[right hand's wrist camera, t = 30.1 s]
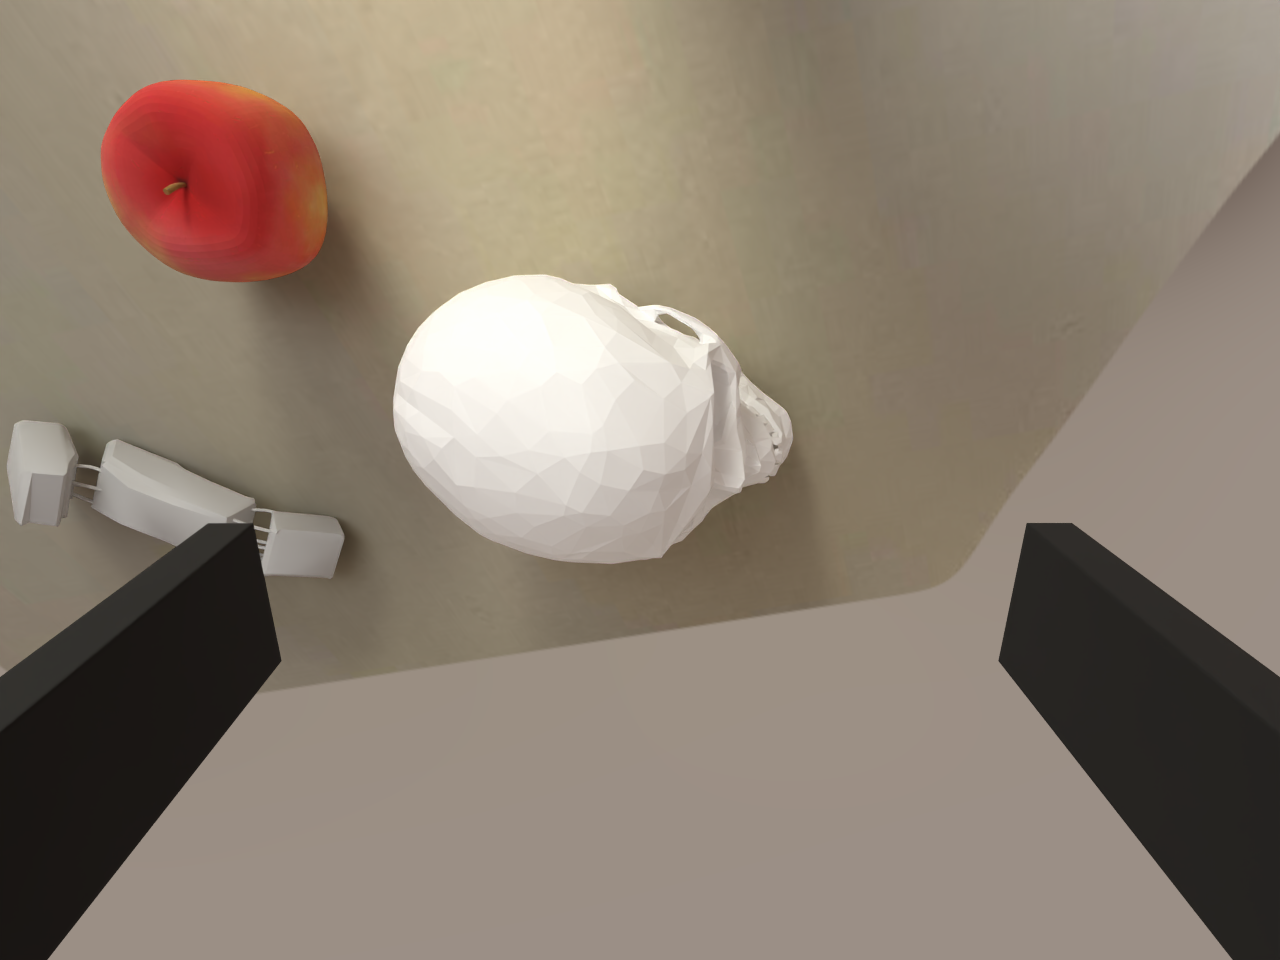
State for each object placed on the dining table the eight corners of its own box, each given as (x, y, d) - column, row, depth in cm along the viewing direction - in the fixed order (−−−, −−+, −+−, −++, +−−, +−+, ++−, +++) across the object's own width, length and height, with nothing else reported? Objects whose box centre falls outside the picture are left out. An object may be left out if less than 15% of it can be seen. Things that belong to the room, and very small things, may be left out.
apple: (222, 55, 39) (89, 8, 29) (388, 154, 40) (313, 140, 31) (166, 222, 42) (29, 227, 32) (324, 307, 43) (237, 336, 34)
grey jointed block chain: (26, 460, 46) (-59, 507, 40) (33, 408, 45) (-54, 447, 39) (345, 556, 51) (314, 611, 45) (359, 511, 50) (329, 561, 43)
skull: (763, 524, 48) (821, 656, 33) (430, 462, 47) (333, 571, 32) (818, 323, 44) (913, 370, 29) (455, 247, 43) (356, 257, 28)
